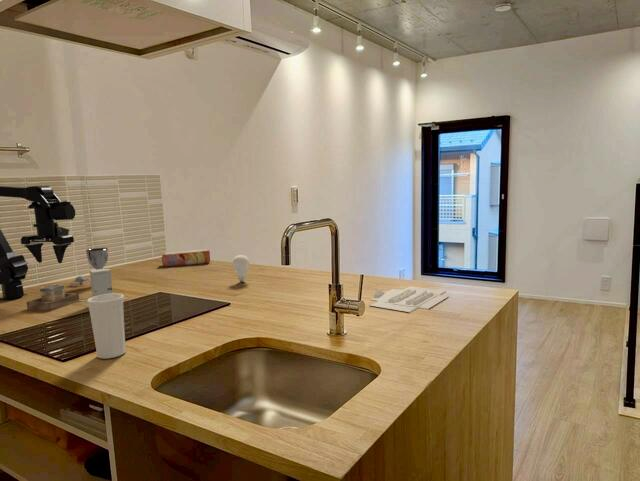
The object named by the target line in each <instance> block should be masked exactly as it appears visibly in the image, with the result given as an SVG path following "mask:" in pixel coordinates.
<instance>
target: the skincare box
mask: <svg viewBox="0 0 640 481" xmlns="http://www.w3.org/2000/svg"><path fill="white" fill-rule="evenodd" d="M89 273H90V279H91V284H90V285H91V293H92V294H91V295H92V296H91V297H94V296H97V295H102V294H111V293H114V292H113V285H112V283H113V282H112V272H111V269H110V268H103V269H98V270H96V269H91V270H90V271H89Z"/></svg>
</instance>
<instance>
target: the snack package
mask: <svg viewBox="0 0 640 481" xmlns="http://www.w3.org/2000/svg"><path fill="white" fill-rule="evenodd" d="M210 254H211V253H210V249H209V248H204V249H202V248H201V249H194V250H193V249H192V250H184V251H183V250H181V251H173V252H172V251H171V252H164V253H162V255H161V256H162V257H161V260H162V261H161V262H162V266H163V267H165V268H166V267H167V268H168V267H177V266H189V265H204V264H205V265H206V264H210V262H211V255H210Z"/></svg>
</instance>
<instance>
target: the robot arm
mask: <svg viewBox="0 0 640 481" xmlns="http://www.w3.org/2000/svg"><path fill="white" fill-rule="evenodd" d="M0 197H3V198H4V197H6V198H16V199H17V198H19V199H25V200H26V201H30V203H31V204H29V205H28V206H27V209H33V212H34V220H35V223H34V224H33V226H32V227H33V228H36V234H30V235H26V236H25V235H24V236H22V237H21V238H20V245H24V246H23V247H25V248H27V250H28V251H29V252H30V253H31V255H32V256H33V257H34V260H36V262H38V264H41V263H42V262H43V257H42V256H43V255H42V247H43V245H44V243H52V248H53V252H54V256H55V257H56V261H57V263H58V264H62V263H63V260H64V258H65V257H64V256H65V252H66V251H67V250H66V249H67V248H68V246H70V245H72V243H74V242H75V238H74V236H73V234H69V233H70V229H68V228H65V227H63V226H59V223H58V222H57V221H68V220H69V221H71V220H74V219H75V218H76V209H75V207H74V205H73V204H72V203H71V201H70V200H64V201H61V199H60V198H59V197H58V195H56V194H55V192H54V190H53V188H52V187H51V186H49V185H32V186H25V187H21V186H9V185H8V186H6V185H0ZM55 221H56V222H55ZM28 265H29V263H28V262H27V260H26V259H25V257H24V255H23V254H19V255H18V254H16V253H15V251H14V250H13V249H12V247H11V245H10V243H9V242H8V239H7V238H6V237H5V235H4V233H3V231H2V229H1V228H0V286H1V293H2V296H1V297H0V300H3V301H5V300H8V301H13V300H17V299H20V298H22V297H25V296H27V295H28V294H27V293H26V294H25V293H24V285H23V283H22V282H23V280H25V279H26V277H27V273H28V270H29V266H28Z"/></svg>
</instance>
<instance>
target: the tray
mask: <svg viewBox="0 0 640 481" xmlns="http://www.w3.org/2000/svg"><path fill="white" fill-rule="evenodd" d="M446 292H447V291H446V290H442V289H436V288H427V287H418V286H412V285H410V286H408V287H406V288H404V289H396V288H392V289H390V290H387V291H385V290H382V289H380V290H375V291H374V294H373V297H372V298H370V301H372V302H374V303H371V304H370V305H369V307H371V306H372V307H377V308H382V309H388V310H395V311H400V312H407V313H409V314H411V313H412V312H413V311H416V310H418V309H421V310H423V309H424V310H430V308H432V307H434V306H435V305H437V304H438V303H441V302H442V301H443V300H445V299H447V298H449V295H448V296H447V295H443V294H445V293H446Z"/></svg>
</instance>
